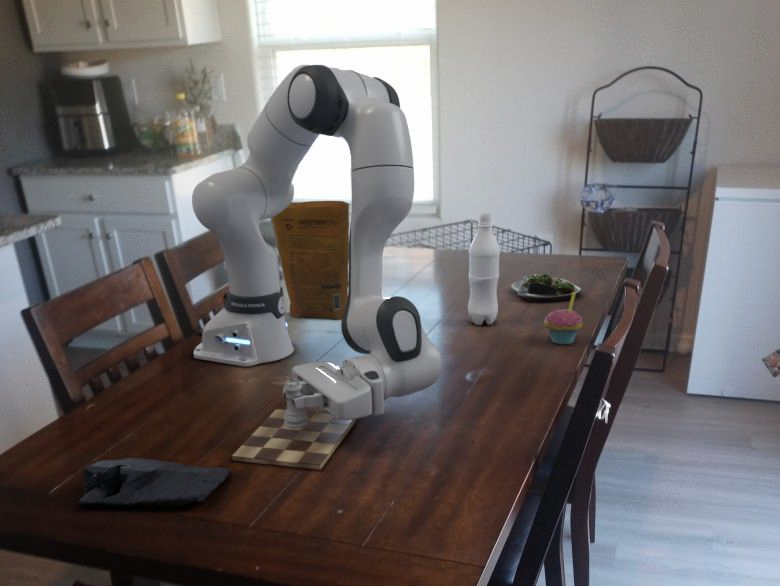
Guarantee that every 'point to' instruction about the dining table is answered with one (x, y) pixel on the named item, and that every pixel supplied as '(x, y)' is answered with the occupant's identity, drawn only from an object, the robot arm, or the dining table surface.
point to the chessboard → (294, 441)
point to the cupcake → (564, 324)
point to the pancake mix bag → (314, 257)
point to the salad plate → (545, 289)
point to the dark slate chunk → (148, 482)
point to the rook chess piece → (293, 415)
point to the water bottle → (483, 273)
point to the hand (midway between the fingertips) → (289, 399)
